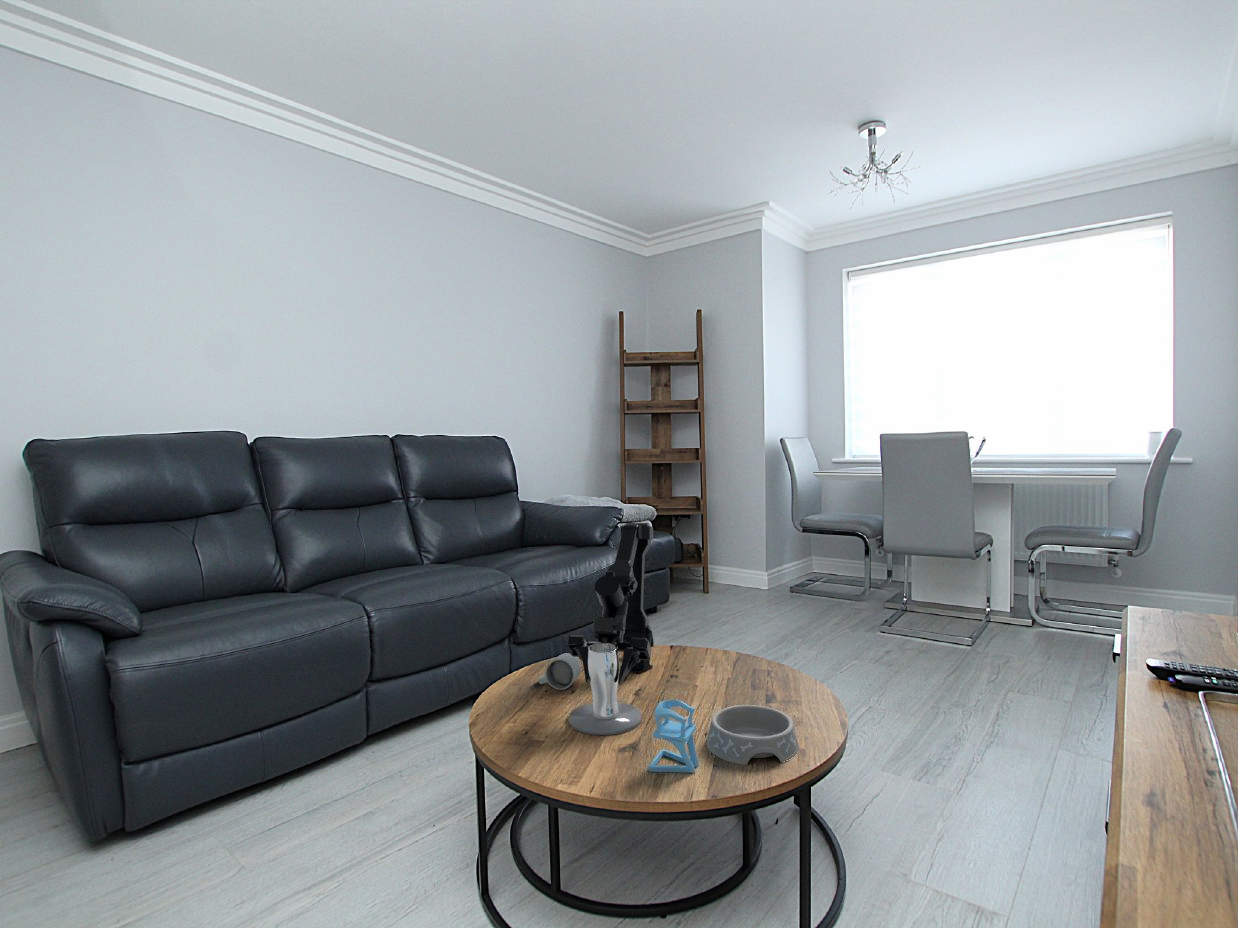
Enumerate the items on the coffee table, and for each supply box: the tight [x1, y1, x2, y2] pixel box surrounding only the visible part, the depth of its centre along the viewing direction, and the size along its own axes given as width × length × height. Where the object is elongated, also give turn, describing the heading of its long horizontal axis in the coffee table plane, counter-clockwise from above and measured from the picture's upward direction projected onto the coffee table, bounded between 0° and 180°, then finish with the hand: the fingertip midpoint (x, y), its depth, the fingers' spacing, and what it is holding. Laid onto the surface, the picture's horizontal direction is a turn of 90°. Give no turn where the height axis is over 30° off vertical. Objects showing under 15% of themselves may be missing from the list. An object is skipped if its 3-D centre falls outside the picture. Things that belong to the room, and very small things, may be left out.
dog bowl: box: [706, 704, 800, 766], centre depth 137 cm, size 17×18×5 cm
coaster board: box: [568, 701, 642, 736], centre depth 151 cm, size 16×16×1 cm
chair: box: [647, 699, 700, 774], centre depth 129 cm, size 8×8×12 cm
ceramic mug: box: [537, 652, 582, 691], centre depth 174 cm, size 11×8×8 cm
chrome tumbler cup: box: [588, 643, 620, 720], centre depth 151 cm, size 7×7×15 cm
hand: (602, 682), depth 150 cm, fingers open, 7 cm apart
